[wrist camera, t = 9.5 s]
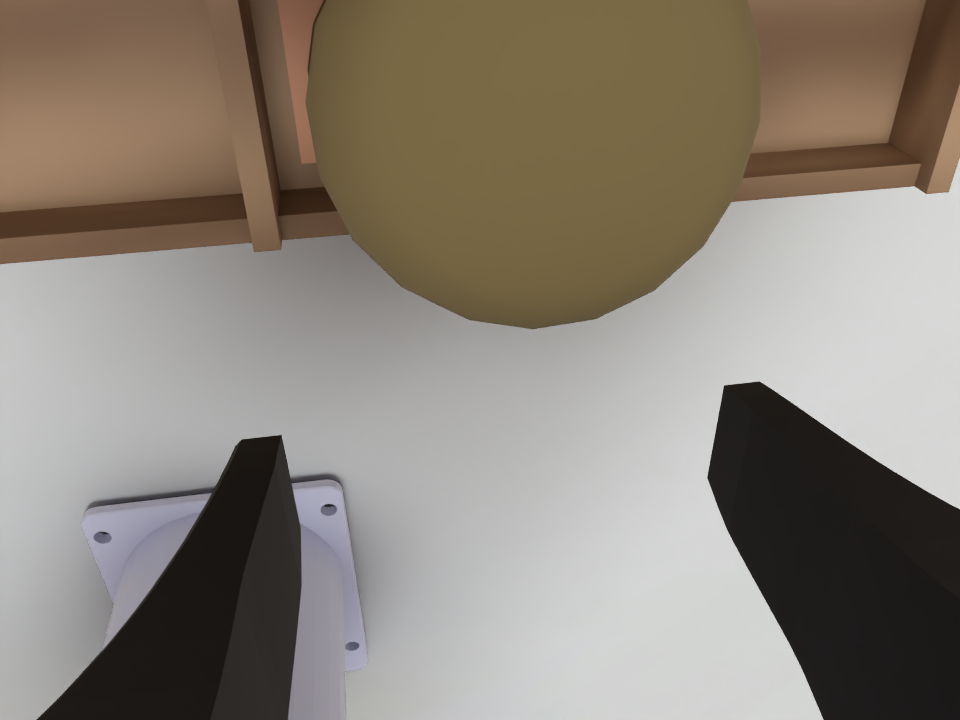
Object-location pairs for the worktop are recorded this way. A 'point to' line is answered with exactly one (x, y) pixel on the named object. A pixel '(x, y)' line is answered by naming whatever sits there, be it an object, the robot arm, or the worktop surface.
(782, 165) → the spice rack
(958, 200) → the worktop surface
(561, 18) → the olive bulbous cylinder
